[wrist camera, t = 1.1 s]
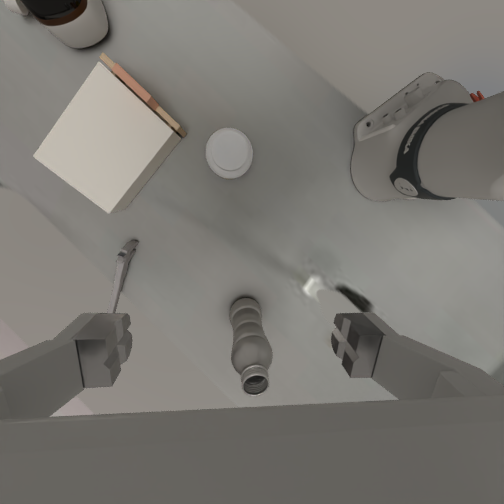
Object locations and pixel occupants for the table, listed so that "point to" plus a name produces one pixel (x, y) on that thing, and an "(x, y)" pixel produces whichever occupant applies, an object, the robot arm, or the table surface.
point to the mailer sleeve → (107, 142)
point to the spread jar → (67, 19)
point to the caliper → (121, 273)
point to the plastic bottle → (250, 346)
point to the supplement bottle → (229, 153)
